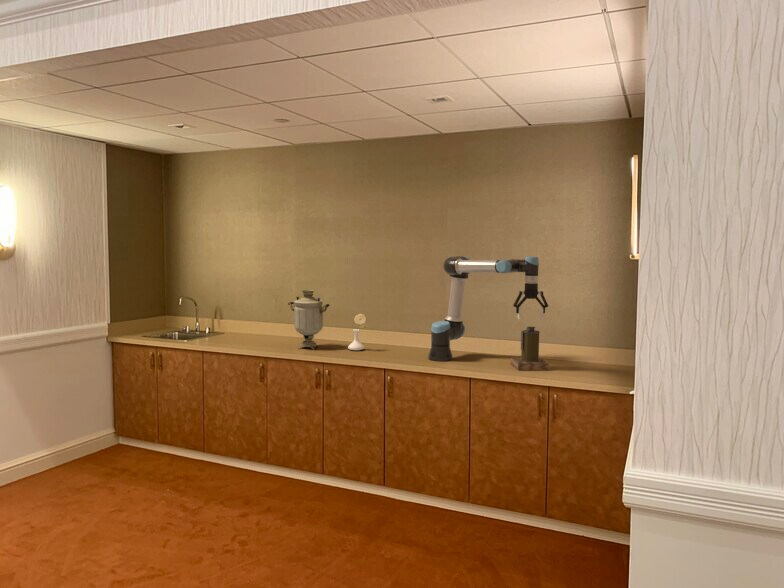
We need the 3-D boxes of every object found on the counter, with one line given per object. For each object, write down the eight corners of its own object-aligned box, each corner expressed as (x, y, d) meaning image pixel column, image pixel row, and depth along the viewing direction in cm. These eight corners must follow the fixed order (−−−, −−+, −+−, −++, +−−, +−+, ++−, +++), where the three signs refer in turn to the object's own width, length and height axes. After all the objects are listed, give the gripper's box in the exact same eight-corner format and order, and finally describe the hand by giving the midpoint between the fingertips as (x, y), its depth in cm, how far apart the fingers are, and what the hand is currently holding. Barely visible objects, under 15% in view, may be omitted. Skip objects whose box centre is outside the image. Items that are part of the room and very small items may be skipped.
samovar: (340, 346, 423) (339, 289, 419) (316, 352, 400) (315, 292, 397) (307, 342, 438) (306, 287, 435) (282, 347, 416) (281, 290, 413)
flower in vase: (345, 350, 406) (345, 314, 404) (351, 347, 417) (351, 312, 415) (363, 352, 402) (363, 314, 400) (369, 349, 413) (369, 312, 411)
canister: (532, 358, 363) (533, 325, 361) (542, 361, 353) (543, 327, 351) (516, 359, 359) (517, 326, 357) (526, 362, 349) (526, 328, 348)
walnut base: (518, 370, 347) (518, 363, 347) (510, 364, 365) (510, 357, 365) (548, 370, 348) (549, 363, 347) (540, 363, 366) (540, 357, 365)
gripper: (511, 283, 348) (510, 319, 350) (554, 283, 349) (553, 319, 351) (508, 282, 355) (507, 318, 357) (550, 282, 356) (549, 318, 358)
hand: (530, 319), depth 354 cm, fingers open, 13 cm apart
